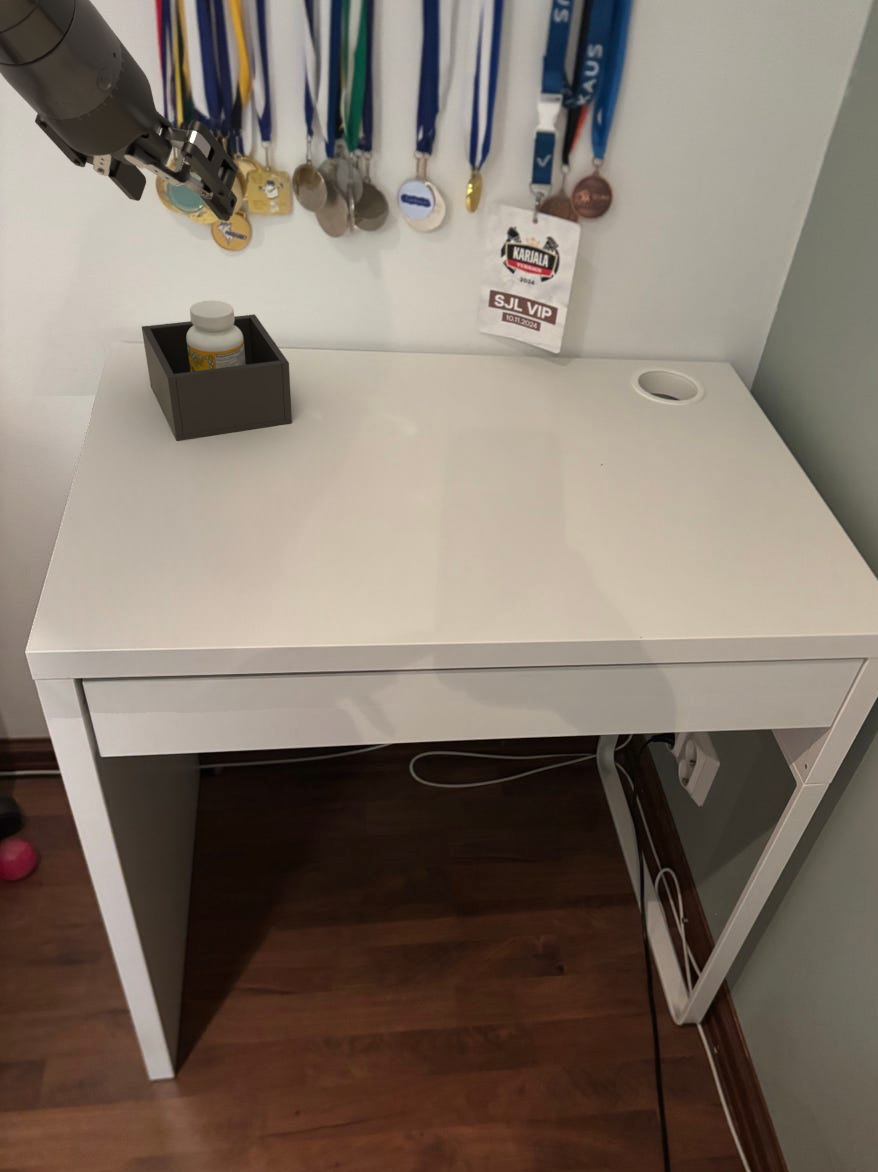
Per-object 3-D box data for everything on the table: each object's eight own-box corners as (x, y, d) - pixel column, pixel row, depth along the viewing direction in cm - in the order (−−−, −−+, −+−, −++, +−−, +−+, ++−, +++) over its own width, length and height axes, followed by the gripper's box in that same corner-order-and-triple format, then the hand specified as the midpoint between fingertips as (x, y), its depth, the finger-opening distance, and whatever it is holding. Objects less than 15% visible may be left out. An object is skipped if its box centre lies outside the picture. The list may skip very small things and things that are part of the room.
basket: (176, 440, 91) (167, 378, 87) (150, 386, 98) (141, 326, 94) (292, 423, 95) (289, 362, 91) (259, 372, 103) (254, 314, 98)
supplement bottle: (257, 406, 96) (250, 314, 90) (207, 418, 94) (196, 324, 87) (234, 384, 99) (226, 293, 93) (185, 394, 97) (173, 302, 90)
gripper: (178, 30, 63) (273, 175, 79) (-2, -4, 66) (124, 143, 81) (141, 135, 62) (244, 259, 78) (-39, 97, 65) (96, 224, 81)
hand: (183, 200), depth 80 cm, fingers open, 8 cm apart
